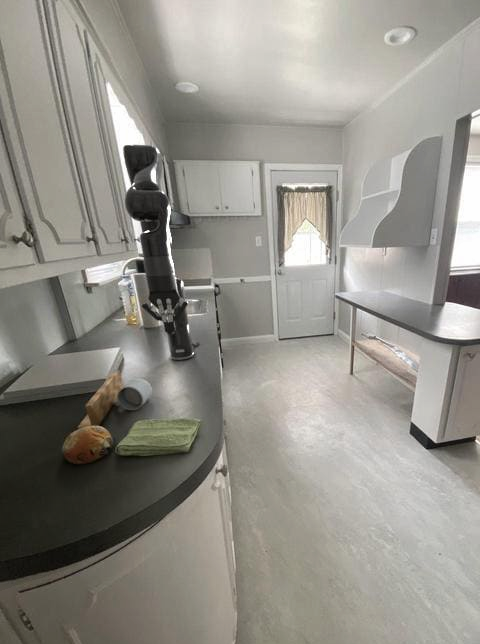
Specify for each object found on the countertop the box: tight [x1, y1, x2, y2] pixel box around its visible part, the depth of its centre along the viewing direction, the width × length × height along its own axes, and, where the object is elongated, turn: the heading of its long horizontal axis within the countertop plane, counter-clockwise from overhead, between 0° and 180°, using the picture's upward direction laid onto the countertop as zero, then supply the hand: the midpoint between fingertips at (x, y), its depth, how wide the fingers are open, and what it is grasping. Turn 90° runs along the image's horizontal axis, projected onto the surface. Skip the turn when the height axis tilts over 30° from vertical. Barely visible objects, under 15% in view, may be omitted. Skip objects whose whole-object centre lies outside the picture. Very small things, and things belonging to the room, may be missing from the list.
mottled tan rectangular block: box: [77, 369, 124, 430], centre depth 91 cm, size 24×5×7 cm, turn 11°
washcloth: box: [115, 417, 202, 457], centre depth 76 cm, size 13×18×3 cm
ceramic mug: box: [113, 378, 153, 411], centre depth 93 cm, size 11×8×8 cm
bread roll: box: [61, 425, 114, 465], centre depth 72 cm, size 10×10×8 cm
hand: (170, 333), depth 90 cm, fingers closed
